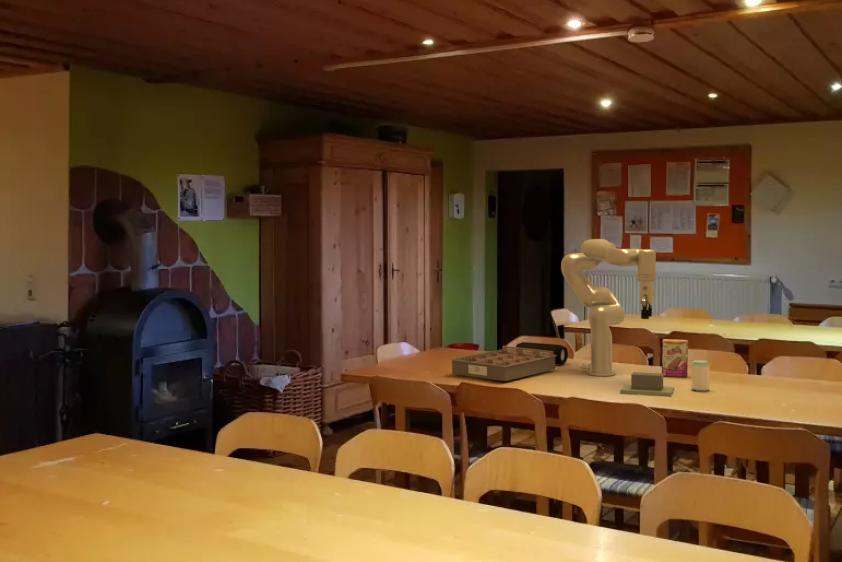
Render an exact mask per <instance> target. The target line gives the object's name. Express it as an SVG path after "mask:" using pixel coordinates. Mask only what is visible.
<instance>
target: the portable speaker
mask: <svg viewBox="0 0 842 562" xmlns="http://www.w3.org/2000/svg"><path fill="white" fill-rule="evenodd" d="M515 347H519V348H528V349H537V350H546V351H553V355H557V356H555V364H561V365H564V364H566V363H567V360H568V358H569V351H568V348H567V347H566V346H564V345H562V344H556V343H555V344H554V343H541V342H531V341H530V342H529V341H527V342H526V341H522V342H519V343H517V344H515Z"/></svg>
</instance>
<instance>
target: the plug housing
mask: <svg viewBox="0 0 842 562" xmlns="http://www.w3.org/2000/svg"><path fill="white" fill-rule="evenodd" d="M630 379H631V381H630V382H631V384H630V385H631V389H640V390H658V391H662V389H663V387H664V376H663V373H662V372H660V373H659V372H639V371H633V372H632V373H631V377H630Z"/></svg>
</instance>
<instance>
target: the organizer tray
mask: <svg viewBox="0 0 842 562" xmlns="http://www.w3.org/2000/svg"><path fill="white" fill-rule="evenodd" d="M555 356H557V355H553V351H546V350H537V349H528V348H519V347H516V346H507V345H502V349H498V350H492V351H487V352H482V353H477V354H472V355H471V354H470V355H465V356H460V357H456V358H450V361H451V372H452V373H451V374H453V375H459V376H460V375H461V376H467V377H473V378H481V379H486V380H487V379H489V380H493V381H502V382H507V381H511V380H515V379H520V378H525V377H527V376H531V375H537V374H541V373H544V372H549V371H550V372H551V371H553V370H556V365H555Z"/></svg>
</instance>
